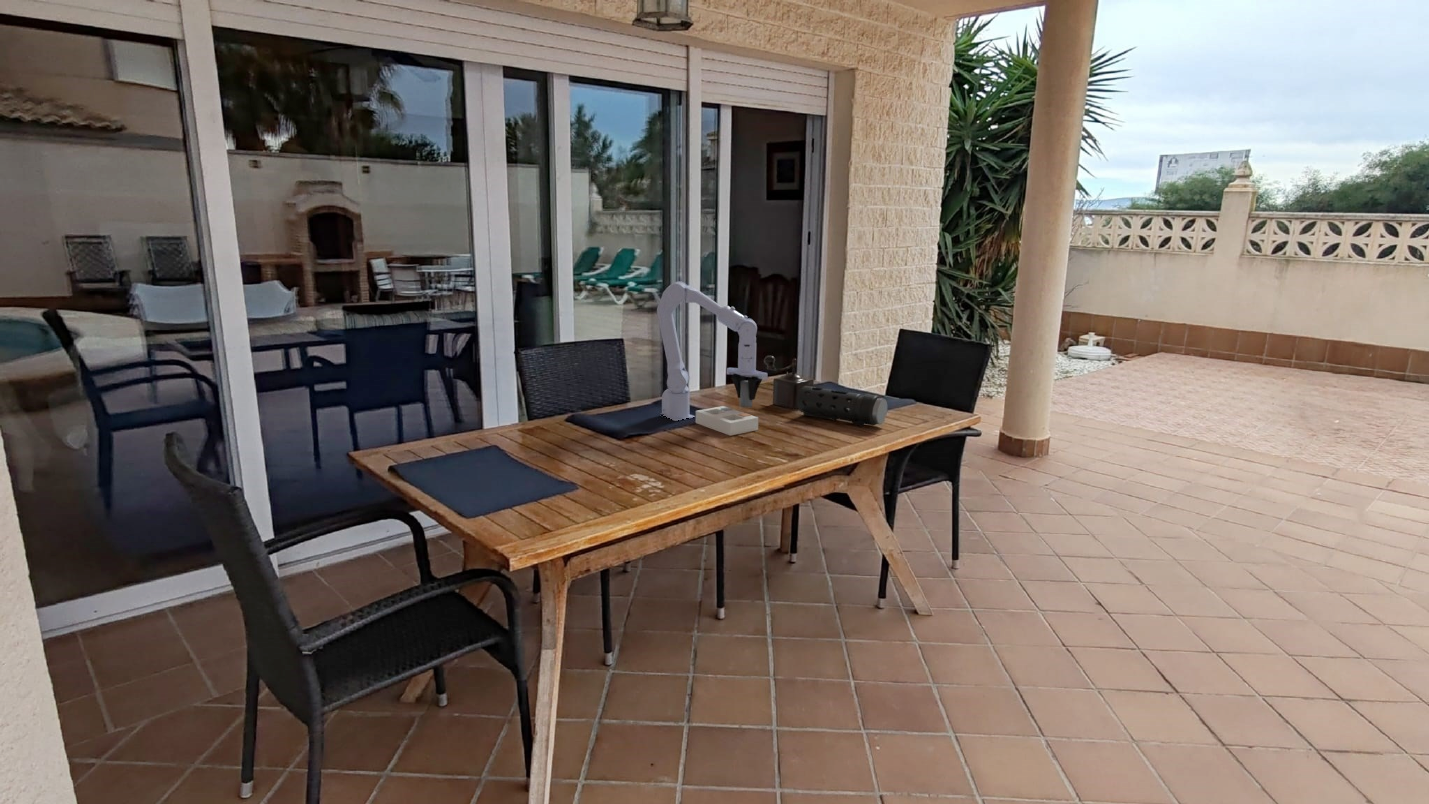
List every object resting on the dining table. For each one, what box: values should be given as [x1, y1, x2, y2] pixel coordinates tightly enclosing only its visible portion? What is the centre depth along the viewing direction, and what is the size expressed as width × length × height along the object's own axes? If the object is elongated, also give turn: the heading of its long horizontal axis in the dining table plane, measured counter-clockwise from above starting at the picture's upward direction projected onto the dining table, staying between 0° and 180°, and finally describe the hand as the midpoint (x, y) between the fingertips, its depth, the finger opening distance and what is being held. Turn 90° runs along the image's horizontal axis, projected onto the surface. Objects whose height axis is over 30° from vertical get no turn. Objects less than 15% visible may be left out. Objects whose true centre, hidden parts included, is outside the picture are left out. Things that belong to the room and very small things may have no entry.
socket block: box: [695, 405, 759, 436], centre depth 241 cm, size 18×11×4 cm, turn 37°
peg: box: [739, 380, 753, 408], centre depth 248 cm, size 4×4×8 cm
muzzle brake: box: [797, 386, 888, 426], centre depth 247 cm, size 10×28×10 cm, turn 54°
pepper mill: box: [763, 355, 815, 410], centre depth 266 cm, size 16×11×18 cm
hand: (746, 398), depth 248 cm, fingers closed on peg, 4 cm apart
